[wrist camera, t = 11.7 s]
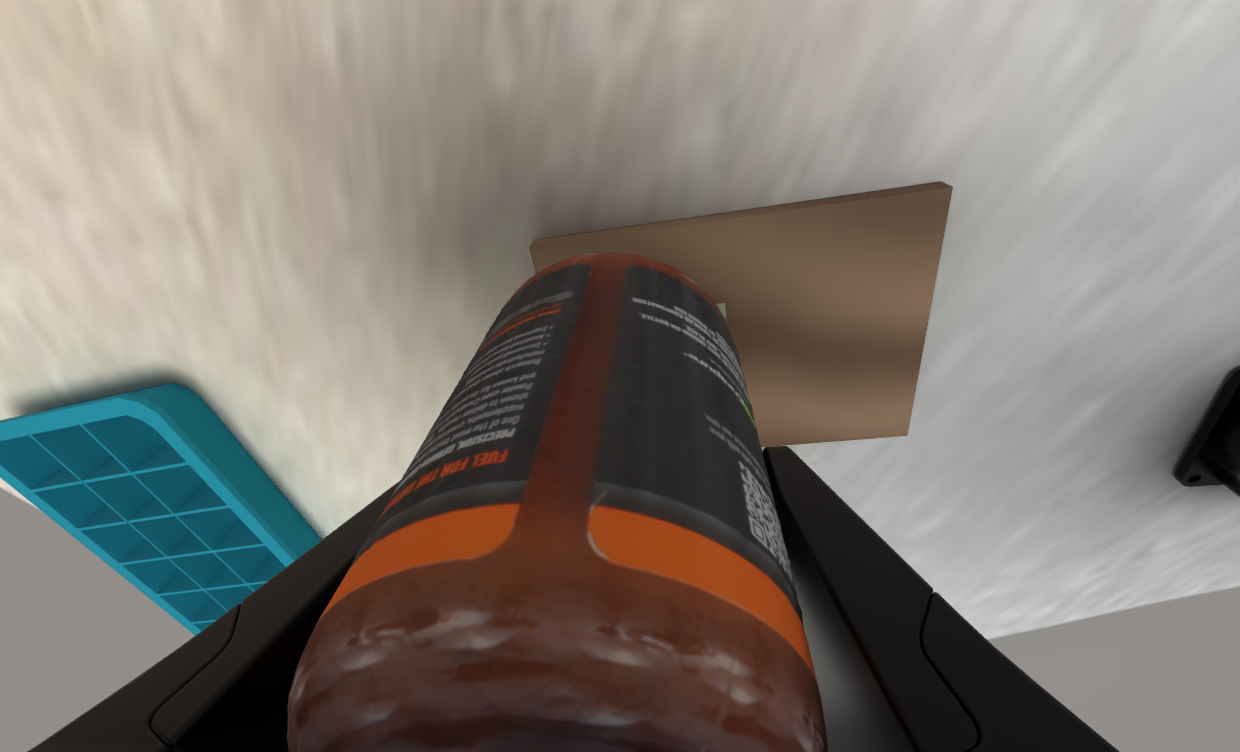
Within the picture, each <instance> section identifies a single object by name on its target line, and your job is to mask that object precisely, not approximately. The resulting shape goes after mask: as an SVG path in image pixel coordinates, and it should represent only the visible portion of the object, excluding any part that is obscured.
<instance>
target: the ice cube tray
mask: <svg viewBox="0 0 1240 752" xmlns="http://www.w3.org/2000/svg"><path fill="white" fill-rule="evenodd" d="M0 477H1V478H2V479H3V480H4V481H6V482H7V483H8V484H9V485H11V486H12V487H13V488H14V489H15V490H17V491H18V492H19V493H20V494H22V495H23V496H24V497H25V498H27V499H28V500H29V501H30V502H31V503H33V504H34V505H35V506H36V507H38V508H39V509H40V510H41V511H43V512H44V513H45V514H46V515H48V516H49V517H50V518H51V519H52V520H54V521H55V522H56V523H57V524H59V525H60V526H61V527H62V528H64V529H65V530H66V531H67V532H68V533H70V534H71V535H72V536H73V537H75V538H76V539H77V540H78V541H80V542H81V543H82V544H83V545H85V546H86V547H87V548H88V549H89V550H91V551H92V552H93V553H94V554H96V555H97V556H98V557H99V558H101V559H102V560H103V561H104V562H106V563H107V564H108V565H109V566H110V567H112V568H113V569H114V570H116V571H117V572H118V573H119V574H120V575H121V576H123V577H124V578H125V579H126V580H128V581H129V582H130V583H131V584H133V585H134V586H135V587H137V588H138V589H139V590H140V591H141V592H142V593H144V594H145V595H146V596H147V597H149V598H150V599H151V600H152V601H154V602H155V603H156V604H157V605H158V606H160V607H161V608H162V609H163V610H165V611H166V612H167V613H168V614H170V615H171V616H172V617H173V618H174V619H176V620H177V621H178V622H180V623H181V624H182V625H183V626H184V627H186V628H187V629H188V630H189V631H190V632H192V633H193V634H194V635H195V636H196V635H197V634H198V633H200V632H201V631H203V630H204V629H205V628H207V627H208V626H209V625H211V624H212V623H213V622H215V621H216V620H217V619H219V618H220V617H221V616H223V615H224V614H225V613H227V612H228V611H229V610H230V609H232V608H233V607H234V606H236V605H237V604H242V601H243V600H244V599H245V598H246V597H248V596H249V595H250V594H252V593H253V592H254V591H256V590H257V589H258V588H260V587H261V586H262V585H263V584H265V583H266V582H267V581H269V580H270V579H271V578H273V577H274V576H275V575H277V574H278V573H279V572H281V571H282V570H283V569H285V568H286V567H287V566H288V565H290V564H291V563H292V562H294V561H295V560H296V559H298V558H299V557H300V556H302V555H303V554H304V553H306V552H307V551H308V550H310V549H311V548H312V547H313V546H315V545H316V544H317V543H319V542H320V541H321V539H320V537H319V536H318V535H317V534H316V533H315V531H314V530H313V529H312V528H311V527H310V526H309V524H308V523H307V522H306V521H305V520H304V518H303V517H302V516H301V515H300V514H299V513H298V511H297V510H296V509H295V508H294V507H293V505H292V504H291V503H290V502H289V501H288V500H287V498H286V497H285V496H284V495H283V494H282V492H281V491H280V490H279V489H278V488H277V487H276V485H275V484H274V483H273V482H272V481H271V480H270V478H269V477H268V476H267V475H266V474H265V472H264V471H263V470H262V469H261V468H260V467H259V465H258V464H257V463H256V462H255V461H254V459H253V458H252V457H251V456H250V455H249V454H248V452H247V451H246V450H245V449H244V448H243V446H242V445H241V444H240V443H239V442H238V441H237V439H236V438H235V437H234V436H233V435H232V433H231V432H230V431H229V430H228V429H227V428H226V426H225V425H224V424H223V423H222V422H221V420H220V419H219V418H218V417H217V416H216V415H215V413H214V412H213V411H212V410H211V409H210V407H209V406H208V405H207V404H206V403H205V402H204V400H203V399H202V398H200V397H199V396H198V395H196V394H195V393H194V392H192V391H191V390H190V389H188V388H186V387H183V386H180V385H178V384H175V383H169V384H164V385H159V386H155V387H150V388H146V389H141V390H136V391H132V392H127V393H122V394H118V395H113V396H108V397H104V398H99V399H94V400H90V401H85V402H80V403H76V404H71V405H66V406H62V407H57V408H52V409H48V410H44V411H42V412H38V413H33V414H28V415H24V416H19V417H14V418H10V419H5V420H0Z"/></svg>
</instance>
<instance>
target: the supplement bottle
mask: <svg viewBox="0 0 1240 752" xmlns="http://www.w3.org/2000/svg"><path fill="white" fill-rule="evenodd" d="M287 708H288V733H287V741H288V750H289V752H828V743H827V734H826V727H825V720H824V714H823V708H822V702H821V695H820V691H819V687H818V683H817V679H816V675H815V670H814V666H813V662H812V658H811V654H810V649H809V645H808V641H807V638H806V634H805V631H804V627H803V617H802V610H801V607H800V605H799V602H798V597H797V592H796V587H795V584H794V580H793V576H792V572H791V567H790V561H789V557H788V554H787V550H786V547H785V543H784V539H783V535H782V531H781V527H780V522H779V519H778V514H777V510H776V507H775V502H774V498H773V495H772V490H771V485H770V480H769V477H768V473H767V469H766V465H765V461H764V457H763V452H762V448H761V445H760V441H759V438H758V432H757V428H756V424H755V420H754V415H753V409H752V405H751V403H750V401H749V397H748V392H747V388H746V382H745V379H744V375H743V371H742V368H741V362H740V358H739V354H738V351H737V348H736V345H735V343H734V340H733V337H732V333H731V331H730V328H729V326H728V324H727V322H726V319H725V317H724V316H723V314H722V313H721V311H720V309H719V307H718V306H717V305H716V304H715V302H714V300H713V299H712V298H711V297H710V296H709V295H708V294H707V293H706V292H705V291H704V290H703V289H702V288H701V287H700V286H699V285H698V284H697V283H696V282H695V281H694V280H692V279H690V278H688V277H687V276H686V275H685V274H684V273H682V272H681V271H679V270H677V269H676V268H674V267H671V266H669V265H668V264H664V263H662V262H660V261H657V260H654V259H651V258H647V257H644V256H639V255H633V254H626V253H617V252H600V253H589V254H581V255H577V256H573V257H570V258H567V259H565V260H562V261H559V262H556V263H555V264H553V265H551V266H549V267H547V268H545V269H543V270H542V271H540V272H538V273H537V274H535V275H534V276H533V277H531V278H530V279H529V280H527V281H526V282H525V283H524V284H523V285H522V286H521V287H520V288H519V289H518V290H517V291H516V292H515V294H514V295H513V296H512V297H511V299H510V300H509V301H508V302H507V303H506V305H505V306H504V308H503V309H502V310H501V312H500V314H499V315H498V316H497V318H496V320H495V322H494V323H493V325H492V326H491V327H490V329H489V331H488V332H487V334H486V336H485V338H484V340H483V342H482V343H481V345H480V346H479V348H478V350H477V352H476V354H475V356H474V357H473V359H472V360H471V362H470V364H469V365H468V367H467V369H466V370H465V372H464V374H463V376H462V378H461V379H460V381H459V383H458V384H457V386H456V388H455V389H454V391H453V393H452V394H451V396H450V397H449V399H448V401H447V402H446V404H445V406H444V407H443V409H442V411H441V413H440V415H439V417H438V418H437V420H436V422H435V423H434V425H433V427H432V428H431V430H430V432H429V433H428V435H427V437H426V439H425V440H424V442H423V444H422V446H421V447H420V449H419V451H418V452H417V454H416V456H415V457H414V459H413V461H412V462H411V464H410V466H409V467H408V469H407V471H406V472H405V474H404V476H403V478H402V480H401V481H400V483H399V485H398V486H397V488H396V490H395V491H394V493H393V495H392V497H391V498H390V500H389V501H388V503H387V505H386V506H385V508H384V510H383V511H382V513H381V515H380V517H379V519H378V521H377V522H376V524H375V525H374V526H373V528H372V529H371V531H370V533H369V535H368V537H367V538H366V540H365V542H364V544H363V545H362V547H361V548H360V550H359V551H358V553H357V555H356V557H355V559H354V561H353V563H352V565H351V567H350V569H349V570H348V572H347V574H346V576H345V577H344V579H343V581H342V582H341V584H340V586H339V587H338V589H337V591H336V592H335V594H334V596H333V597H332V599H331V601H330V602H329V604H328V606H327V607H326V609H325V611H324V612H323V614H322V616H321V617H320V619H319V621H318V623H317V625H316V627H315V628H314V630H313V632H312V634H311V636H310V638H309V640H308V643H307V645H306V647H305V650H304V652H303V654H302V656H301V658H300V661H299V663H298V666H297V668H296V672H295V676H294V679H293V682H292V686H291V690H290V693H289V698H288V707H287Z"/></svg>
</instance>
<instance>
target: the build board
mask: <svg viewBox="0 0 1240 752" xmlns="http://www.w3.org/2000/svg"><path fill="white" fill-rule="evenodd" d="M952 189H953V187H952V186H950V185H948V184H946V183H943V182H936V183H929V184H922V185H915V186H908V187H901V188H894V189H887V190H880V191H873V192H866V193H859V194H852V195H845V196H838V197H831V198H824V199H817V200H810V201H804V202H797V203H790V204H783V205H776V206H769V207H762V208H755V209H748V210H741V211H734V212H727V213H720V214H713V215H706V216H699V217H692V218H685V219H678V220H671V221H664V222H657V223H650V224H643V225H636V226H629V227H622V228H615V229H608V230H601V231H594V232H587V233H580V234H573V235H566V236H559V237H552V238H545V239H538V240H533V242H532V244H531V245H530V247H529V248H530V251H531V255H532V259H533V263H534V267H535V270H536V274H537V273H538V272H540V271H542V270H543V269H545V268H547V267H549V266H551V265H553V264H555V263H556V262H559V261H562V260H565V259H567V258H570V257H573V256H577V255H581V254H589V253H600V252H617V253H626V254H633V255H639V256H644V257H647V258H651V259H654V260H657V261H660V262H662V263H664V264H668V265H669V266H671V267H674V268H676V269H677V270H679V271H681V272H682V273H684V274H685V275H686V276H687V277H688V278H690V279H692V280H694V281H695V282H696V283H697V284H698V285H699V286H700V287H701V288H702V289H703V290H704V291H705V292H706V293H707V294H708V295H709V296H710V297H711V298H712V299H713V300H714V302H715V304H716V305H717V306H718V307H721V309H722V313H723V316H724V317H725V319H726V322H727V324H728V326H729V328H730V331H731V333H732V337H733V340H734V343H735V345H736V348H737V351H738V354H739V358H740V362H741V368H742V371H743V375H744V379H745V382H746V388H747V392H748V397H749V401H750V403H751V405H752V409H753V415H754V420H755V424H756V428H757V432H758V438H759V441H760V445H761V447H770V446H782V445H795V444H807V443H820V442H833V441H845V440H858V439H871V438H883V437H896V436H907V434H908V429H909V423H910V418H911V412H912V407H913V401H914V396H915V390H916V385H917V380H918V374H919V369H920V363H921V358H922V352H923V347H924V341H925V336H926V330H927V325H928V320H929V314H930V309H931V303H932V298H933V292H934V287H935V281H936V276H937V270H938V265H939V259H940V254H941V249H942V243H943V238H944V232H945V227H946V221H947V216H948V210H949V205H950V199H951V194H952Z"/></svg>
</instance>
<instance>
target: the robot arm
mask: <svg viewBox="0 0 1240 752" xmlns="http://www.w3.org/2000/svg"><path fill="white" fill-rule="evenodd" d="M763 457H764V461H765V465H766V469H767V473H768V477H769V480H770V485H771V490H772V495H773V498H774V502H775V507H776V510H777V514H778V519H779V522H780V527H781V531H782V535H783V539H784V543H785V547H786V550H787V554H788V557H789V561H790V567H791V572H792V576H793V580H794V584H795V587H796V592H797V597H798V602H799V605H800V607H801V610H802V617H803V627H804V631H805V634H806V638H807V641H808V645H809V649H810V654H811V658H812V662H813V666H814V670H815V675H816V679H817V683H818V687H819V691H820V695H821V702H822V708H823V714H824V720H825V727H826V734H827V743H828V752H1119V751H1118V750H1117V749H1116V748H1114V747H1113V746H1112V745H1111V744H1109V743H1108V742H1107V741H1106V740H1105V739H1104V738H1102V737H1101V736H1100V735H1099V734H1097V733H1096V732H1095V731H1094V730H1093V729H1091V728H1090V727H1089V726H1088V725H1087V724H1085V723H1084V722H1083V721H1082V720H1081V719H1079V718H1078V717H1077V716H1076V715H1075V714H1073V713H1072V712H1071V711H1070V710H1069V709H1067V708H1066V707H1065V706H1064V705H1063V704H1061V703H1060V702H1059V701H1058V700H1056V699H1055V698H1054V697H1053V696H1052V695H1050V694H1049V693H1048V692H1047V691H1046V690H1044V689H1043V688H1042V687H1041V686H1039V685H1038V684H1037V683H1036V682H1035V681H1034V680H1032V679H1031V678H1030V677H1029V676H1028V675H1026V674H1025V673H1024V672H1023V671H1022V670H1021V669H1020V668H1019V667H1017V666H1016V665H1015V664H1014V663H1013V662H1012V661H1010V660H1009V659H1008V658H1007V657H1006V656H1005V655H1003V654H1002V653H1001V652H1000V651H999V650H998V649H996V648H995V647H994V646H993V645H992V644H991V643H990V642H989V641H988V640H987V639H985V638H984V637H983V636H982V635H981V634H980V633H979V632H978V631H977V630H976V629H975V628H974V627H973V626H972V625H971V624H969V623H968V622H967V621H966V620H965V619H964V618H963V617H962V616H961V615H960V614H959V613H958V612H957V611H956V610H955V609H954V608H953V607H952V606H951V605H950V604H949V603H948V602H946V601H945V600H944V599H943V598H942V597H941V596H940V595H939V594H938V593H936V592H934V593H933V588H932V587H931V586H930V585H929V584H928V583H927V582H926V581H925V580H924V579H923V578H922V577H921V576H920V575H919V574H918V573H917V572H916V571H915V570H914V569H913V568H912V567H911V566H910V565H908V564H907V563H906V562H905V561H904V560H903V559H902V558H901V557H900V556H899V555H898V554H897V553H896V552H895V551H894V550H893V549H892V548H891V547H890V546H889V545H888V544H887V543H886V542H885V541H884V540H883V539H882V538H881V537H880V536H879V535H878V534H877V533H876V532H875V531H874V530H873V529H872V528H871V527H870V526H869V525H868V524H867V523H866V522H865V521H864V520H863V519H862V518H860V517H859V516H858V515H857V514H856V513H855V512H854V511H853V510H852V509H851V508H850V507H849V506H848V505H847V504H846V503H845V502H844V501H843V500H842V499H841V498H840V497H839V496H838V495H837V494H836V493H835V492H834V491H833V490H832V489H831V488H830V487H829V486H828V485H827V484H826V483H825V482H824V481H823V480H822V479H821V478H820V477H819V476H818V475H817V474H816V473H815V472H814V471H813V470H811V469H810V468H809V467H808V466H807V465H806V464H805V463H804V462H803V461H802V460H801V459H800V458H799V457H798V456H797V455H796V454H795V453H794V452H793V451H792V450H791V449H790V448H789V447H787V446H774V447H766V448H764V450H763ZM1174 477H1175V479H1176V480H1177V481H1179V482H1180V483H1181V484H1182V485H1184V486H1189V487H1191V486H1207V485H1223V484H1224V485H1225V486H1226V487H1228V488H1229V489H1230V490H1231V491H1233V492H1234V493H1235V494H1237V495H1238V496H1239V497H1240V370H1238V371H1237V372H1235V373H1234V374H1233V375H1232V377H1231V378H1230V380H1229V381H1228V383H1227V385H1226V386H1225V388H1224V390H1223V392H1222V393H1221V395H1220V397H1219V399H1218V400H1217V402H1216V404H1215V405H1214V407H1213V409H1212V411H1211V412H1210V414H1209V416H1208V418H1207V419H1206V421H1205V423H1204V424H1203V426H1202V428H1201V430H1200V431H1199V433H1198V435H1197V437H1196V438H1195V440H1194V442H1193V444H1192V445H1191V447H1190V449H1189V450H1188V452H1187V454H1186V456H1185V457H1184V459H1183V461H1182V463H1181V464H1180V466H1179V468H1178V469H1177V471H1176V473H1175V476H1174ZM400 481H401V480H400ZM400 481H399V482H398V483H396V484H395V485H394V486H392V487H391V488H390V489H388V490H387V491H386V492H385V493H383V494H382V495H381V496H379V497H378V498H377V499H375V500H374V501H373V502H371V503H370V504H369V505H367V506H366V507H365V508H363V509H362V510H361V511H360V512H358V513H357V514H356V515H354V516H353V517H352V518H350V519H349V520H348V521H346V522H345V523H344V524H342V525H341V526H340V527H338V528H337V529H336V530H335V531H333V532H332V533H331V534H329V535H328V536H327V537H325V538H324V539H323V540H321V541H320V542H319V543H317V544H316V545H315V546H313V547H312V548H311V549H310V550H308V551H307V552H306V553H304V554H303V555H302V556H300V557H299V558H298V559H296V560H295V561H294V562H292V563H291V564H290V565H288V566H287V567H286V568H285V569H283V570H282V571H281V572H279V573H278V574H277V575H275V576H274V577H273V578H271V579H270V580H269V581H267V582H266V583H265V584H263V585H262V586H261V587H260V588H258V589H257V590H256V591H254V592H253V593H252V594H250V595H249V596H248V597H246V598H245V599H244V600H243V601H242V604H237V605H236V606H234V607H233V608H232V609H230V610H229V611H228V612H227V613H225V614H224V615H223V616H221V617H220V618H219V619H217V620H216V621H215V622H213V623H212V624H211V625H209V626H208V627H207V628H205V629H204V630H203V631H201V632H200V633H198V634H197V635H196V636H194V637H193V638H192V639H190V640H189V641H188V642H187V643H185V644H184V645H182V646H181V647H180V648H178V649H177V650H175V651H174V652H172V653H171V654H170V655H168V656H167V657H165V658H164V659H162V660H161V661H160V662H158V663H157V664H155V665H154V666H153V667H151V668H150V669H148V670H147V671H145V672H144V673H142V674H141V675H139V676H138V677H137V678H135V679H134V680H132V681H131V682H129V683H128V684H126V685H125V686H123V687H122V688H121V689H119V690H118V691H116V692H115V693H113V694H112V695H110V696H109V697H107V698H106V699H105V700H103V701H101V702H100V703H99V704H97V705H96V706H94V707H93V708H91V709H90V710H89V711H87V712H85V713H84V714H83V715H81V716H80V717H78V718H77V719H75V720H74V721H72V722H71V723H69V724H68V725H67V726H65V727H64V728H62V729H61V730H59V731H58V732H56V733H55V734H53V735H52V736H50V737H49V738H47V739H46V740H45V741H43V742H42V743H40V744H39V745H37V746H35V747H34V748H32V749H31V750H29V751H28V752H289V750H288V741H287V733H288V708H287V707H288V698H289V693H290V690H291V686H292V682H293V679H294V676H295V672H296V668H297V666H298V663H299V661H300V658H301V656H302V654H303V652H304V650H305V647H306V645H307V643H308V640H309V638H310V636H311V634H312V632H313V630H314V628H315V627H316V625H317V623H318V621H319V619H320V617H321V616H322V614H323V612H324V611H325V609H326V607H327V606H328V604H329V602H330V601H331V599H332V597H333V596H334V594H335V592H336V591H337V589H338V587H339V586H340V584H341V582H342V581H343V579H344V577H345V576H346V574H347V572H348V570H349V569H350V567H351V565H352V563H353V561H354V559H355V557H356V555H357V553H358V551H359V550H360V548H361V547H362V545H363V544H364V542H365V540H366V538H367V537H368V535H369V533H370V531H371V529H372V528H373V526H374V525H375V524H376V522H377V521H378V519H379V517H380V515H381V513H382V511H383V510H384V508H385V506H386V505H387V503H388V501H389V500H390V498H391V497H392V495H393V493H394V491H395V490H396V488H397V486H398V485H399V483H400ZM932 593H933V594H932Z"/></svg>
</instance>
